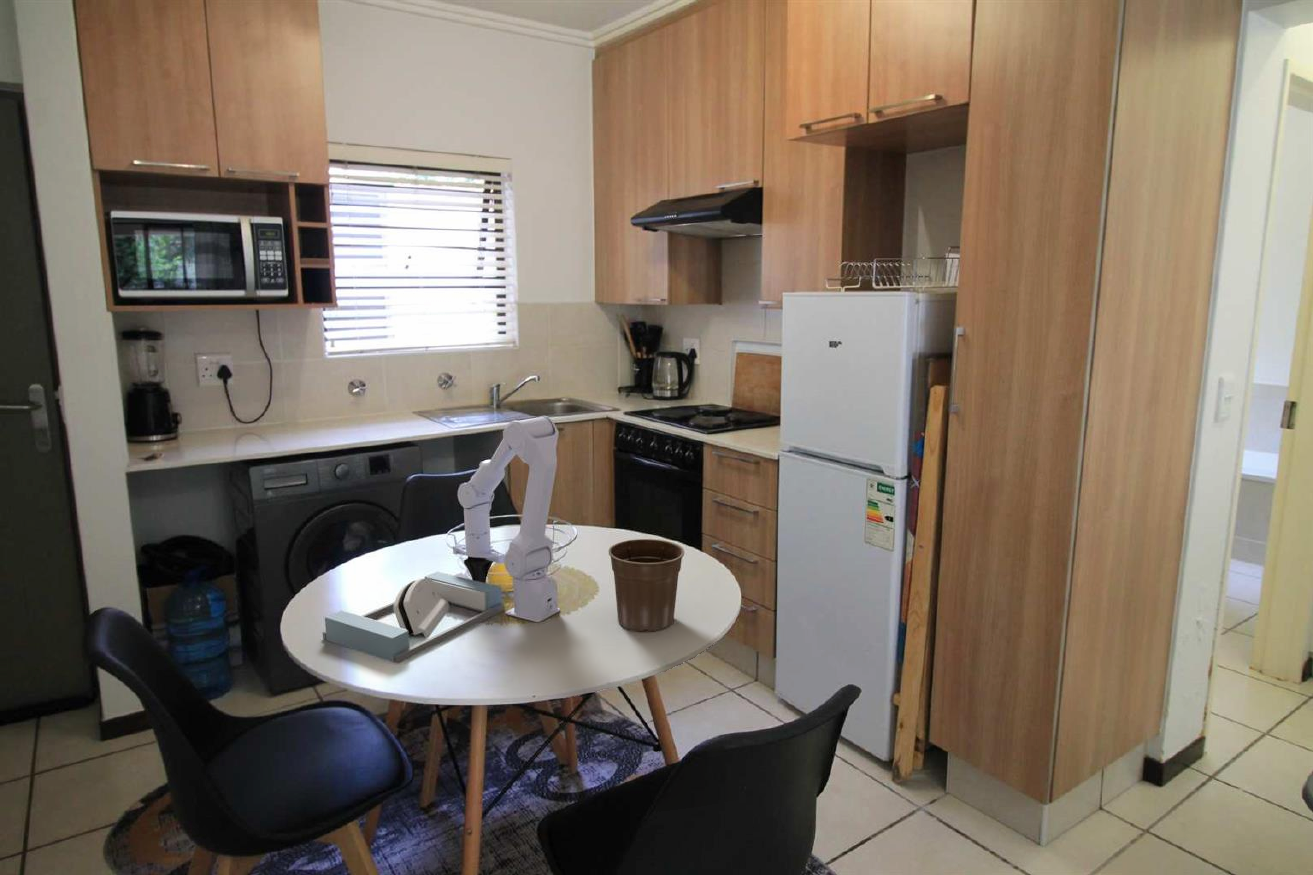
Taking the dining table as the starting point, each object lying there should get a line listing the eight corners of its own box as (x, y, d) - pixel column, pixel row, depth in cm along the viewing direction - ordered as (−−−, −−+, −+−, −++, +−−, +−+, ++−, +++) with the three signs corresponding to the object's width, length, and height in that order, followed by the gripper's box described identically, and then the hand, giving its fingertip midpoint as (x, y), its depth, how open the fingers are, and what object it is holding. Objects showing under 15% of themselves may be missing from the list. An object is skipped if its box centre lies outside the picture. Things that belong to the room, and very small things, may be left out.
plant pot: (698, 617, 174) (698, 546, 171) (656, 643, 160) (656, 567, 158) (638, 601, 183) (637, 534, 180) (594, 625, 169) (593, 553, 167)
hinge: (427, 638, 163) (408, 595, 162) (406, 645, 164) (387, 602, 162) (450, 606, 180) (433, 567, 178) (431, 613, 180) (414, 573, 178)
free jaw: (502, 607, 179) (501, 586, 178) (488, 614, 175) (487, 593, 174) (438, 591, 189) (437, 571, 188) (424, 597, 185) (422, 577, 184)
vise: (504, 609, 178) (503, 588, 177) (397, 663, 152) (396, 639, 151) (433, 591, 189) (432, 571, 188) (323, 638, 163) (321, 616, 162)
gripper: (512, 532, 184) (514, 587, 186) (466, 523, 191) (469, 576, 193) (491, 540, 178) (494, 597, 180) (445, 530, 185) (448, 585, 188)
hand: (480, 587), depth 186 cm, fingers closed
